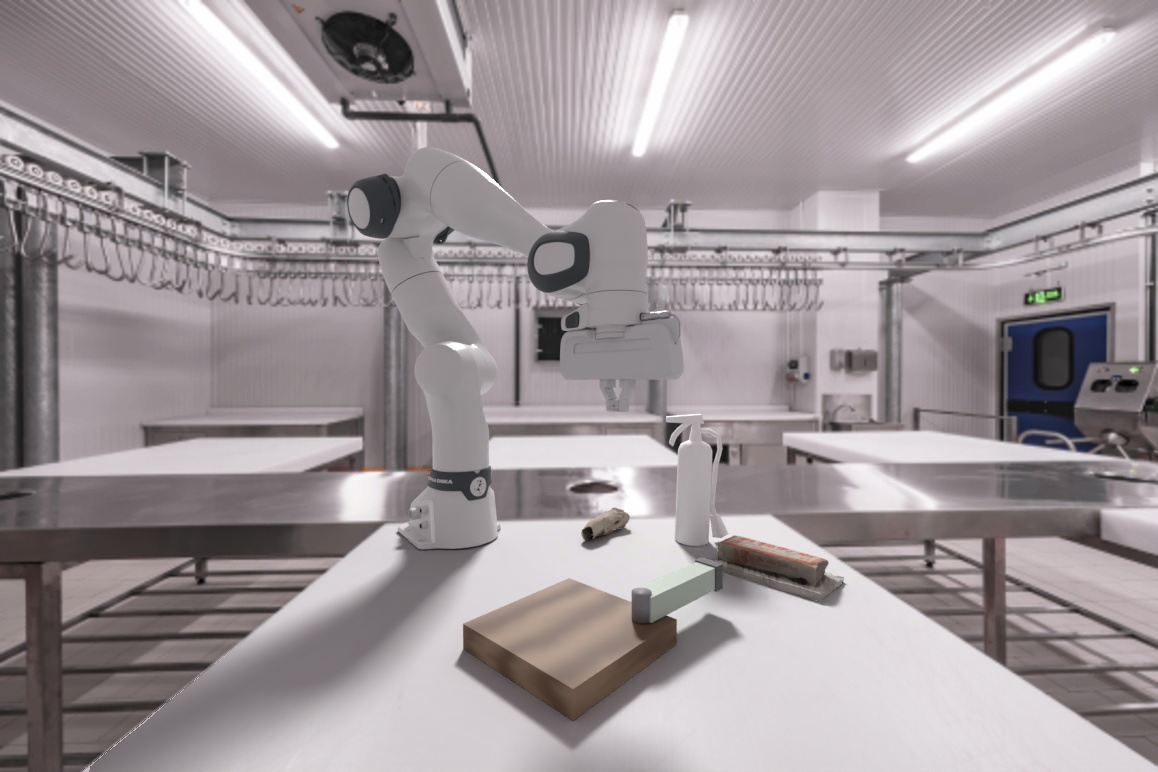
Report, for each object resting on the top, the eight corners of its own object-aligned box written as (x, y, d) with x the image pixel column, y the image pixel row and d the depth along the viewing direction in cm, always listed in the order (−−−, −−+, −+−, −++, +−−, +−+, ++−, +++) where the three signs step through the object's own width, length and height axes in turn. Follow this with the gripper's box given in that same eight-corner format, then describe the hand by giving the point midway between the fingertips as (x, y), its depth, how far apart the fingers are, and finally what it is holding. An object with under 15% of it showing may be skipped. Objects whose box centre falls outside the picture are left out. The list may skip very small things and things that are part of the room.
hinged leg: (646, 628, 57) (645, 599, 57) (624, 618, 59) (624, 590, 59) (722, 588, 67) (722, 563, 67) (701, 580, 70) (701, 557, 70)
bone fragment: (606, 524, 108) (607, 503, 108) (632, 529, 105) (632, 508, 104) (570, 540, 97) (570, 517, 97) (596, 547, 94) (596, 523, 93)
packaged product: (708, 541, 83) (738, 529, 90) (708, 570, 83) (738, 555, 90) (820, 571, 70) (845, 554, 77) (820, 605, 70) (845, 585, 77)
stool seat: (463, 648, 58) (463, 623, 58) (569, 598, 71) (569, 578, 71) (573, 721, 46) (573, 689, 46) (676, 644, 59) (676, 619, 59)
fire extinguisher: (732, 548, 92) (732, 415, 92) (666, 545, 93) (666, 415, 93) (726, 537, 99) (726, 412, 98) (665, 534, 100) (665, 412, 100)
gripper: (692, 311, 66) (692, 413, 66) (581, 323, 80) (581, 408, 80) (666, 306, 61) (666, 416, 62) (553, 320, 75) (553, 410, 76)
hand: (617, 411), depth 71 cm, fingers closed
